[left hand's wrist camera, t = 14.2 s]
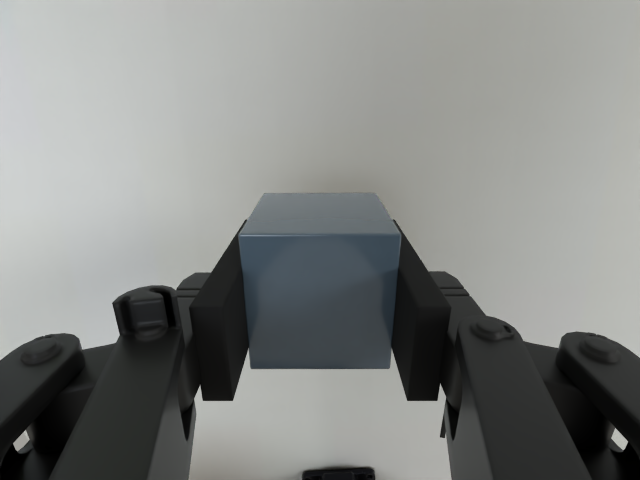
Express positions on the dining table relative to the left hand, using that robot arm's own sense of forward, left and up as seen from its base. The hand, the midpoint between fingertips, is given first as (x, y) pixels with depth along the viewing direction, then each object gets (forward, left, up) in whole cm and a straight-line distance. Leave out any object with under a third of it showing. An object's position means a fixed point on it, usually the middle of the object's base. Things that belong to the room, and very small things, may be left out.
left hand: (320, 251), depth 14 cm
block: (0, 0, 0) cm, 0 cm away
